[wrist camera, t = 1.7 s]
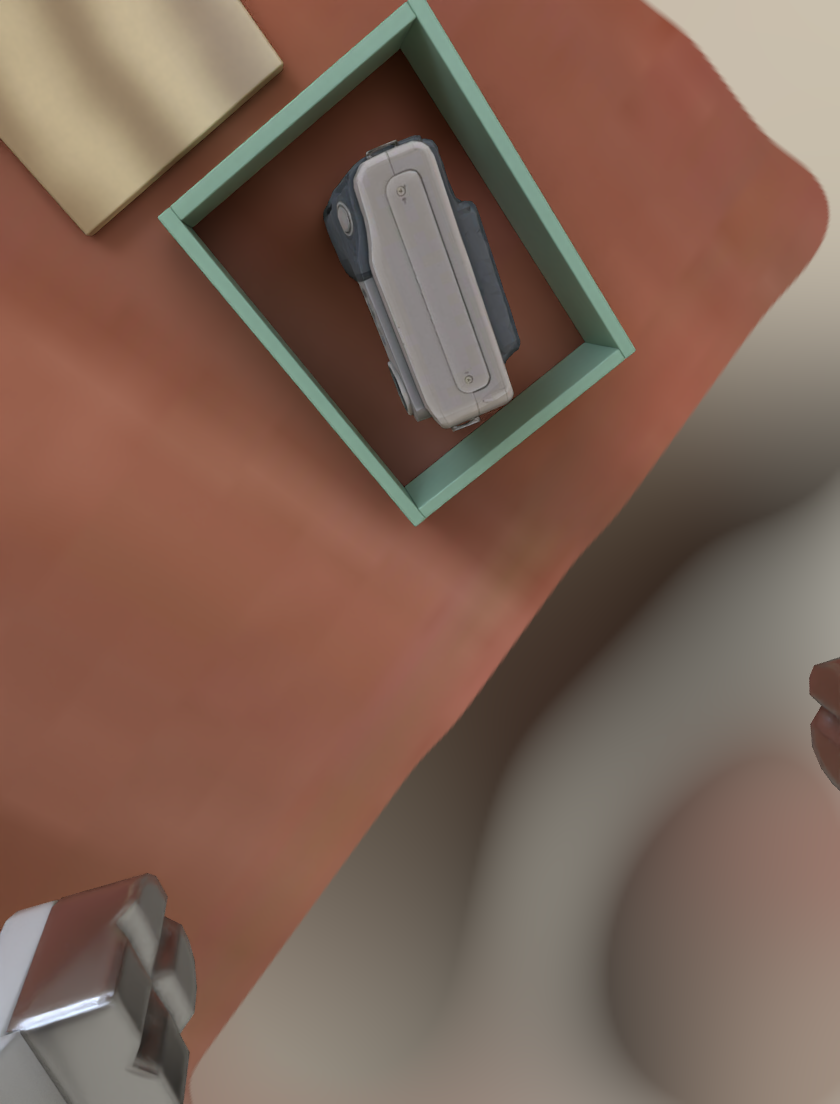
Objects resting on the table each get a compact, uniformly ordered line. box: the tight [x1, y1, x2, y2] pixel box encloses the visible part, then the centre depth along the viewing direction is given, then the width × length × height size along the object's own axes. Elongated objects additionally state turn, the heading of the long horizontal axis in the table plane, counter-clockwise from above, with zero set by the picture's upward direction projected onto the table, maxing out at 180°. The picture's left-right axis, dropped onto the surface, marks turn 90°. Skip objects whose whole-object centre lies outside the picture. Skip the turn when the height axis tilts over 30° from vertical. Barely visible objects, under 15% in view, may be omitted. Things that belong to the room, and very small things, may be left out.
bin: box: [158, 0, 636, 526], centre depth 36 cm, size 14×18×4 cm
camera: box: [323, 135, 520, 432], centre depth 34 cm, size 11×6×10 cm, turn 20°
